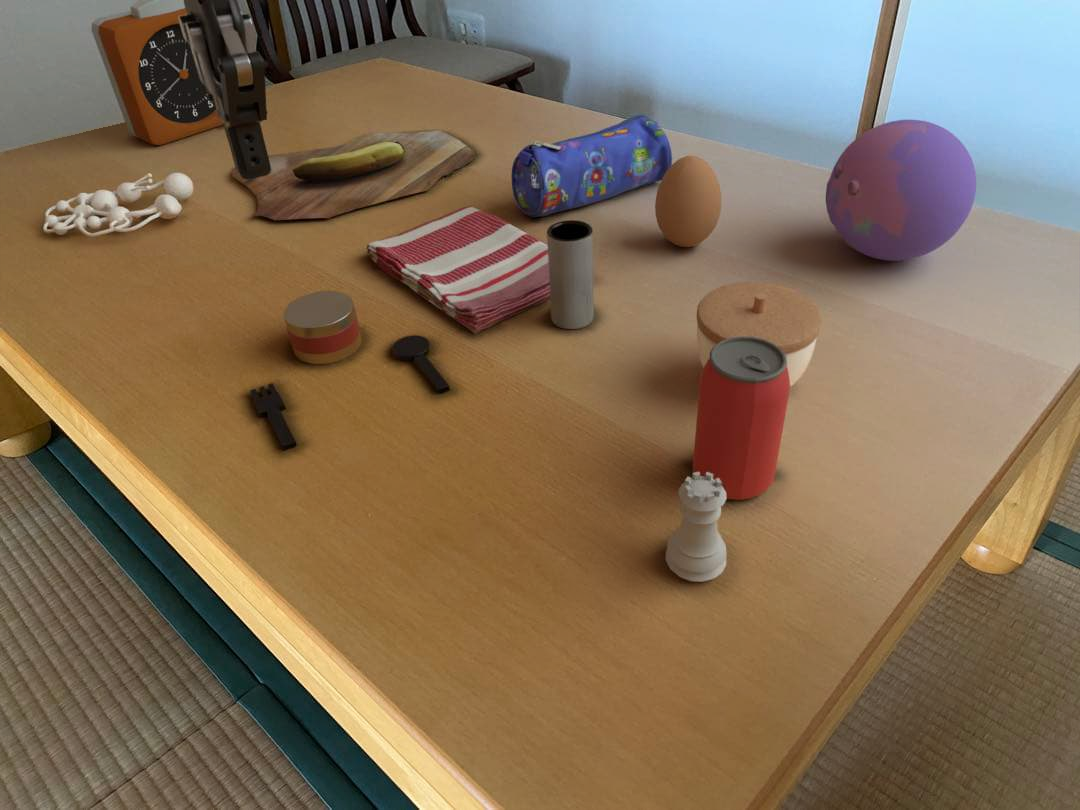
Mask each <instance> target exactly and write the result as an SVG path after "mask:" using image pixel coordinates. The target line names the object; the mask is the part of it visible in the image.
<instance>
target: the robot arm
mask: <svg viewBox="0 0 1080 810" xmlns="http://www.w3.org/2000/svg"><path fill="white" fill-rule="evenodd" d="M183 1H184V5H185V9H186V12H187V14H186V15H179V16H178V19H179V23H180V27H181V30H182V34H183V37H184V39H185V40H186V41H187V42H188V43H189V44H190V47H191V50H192V54H193V57H194V61H195V64H196V67H197V71H198V74H199V78H200V81H201V82H202V84H204V85H205V87H206V89H207V92H208V94H207V96H208V99H209V101H211V103H212V105H213V106H216V109H217V110H215V111H216V115H217V117H219V119H220V121H221V122H222V123H223V124H224V125H223V128H224V131H225V134H226V135H225V136H226V138H227V139H226V140H227V141H228V146H229V149H230V153H231V157H232V160H233V164H234V168H236V170H237V171H238V173H239V174H240V175H241V177H242V178H244V179H253V178H257V177H261V176H266V175H268V174H269V173H270V172H271V166H270V162H269V158H268V157H269V153H268V149H267V146H266V141H265V137H264V133H263V129H262V126H261V123H263V122H264V121H267V120H268V110H267V93H266V72H265V66H266V64H265V59H264V57H263V56H262V54H261V52H260V51H256V49H255V45H256V43H257V36H256V32H255V28H254V24H253V21H252V17H251V15H250V14H249V13H244V14H243V12H242V9H241V7H240V6H239V2H238V0H183Z"/></svg>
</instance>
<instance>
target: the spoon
mask: <svg viewBox="0 0 1080 810" xmlns="http://www.w3.org/2000/svg"><path fill="white" fill-rule="evenodd" d="M430 352H431V342H430V341H429V339H428V338H426V337H424V336H422V335H414V334H413V335H406V336H404V337H401V338H399V339H397V340H396V341H395V342H394V343H393V345H392V353H393V356H394V357H395V359H396V360H399V361H401V362H405V363H406V362H410V363H411V362H413V363H414V364H415V365H416V367H417V368H418V369H419V371H420V372H421V373H422V374H423V376H424V377H425V378H426V380H427V381H428V382H429V383H430V385H431V387H432V388H433V389H434V390H435V391H436V393H437V394H438V395H440V394H443V393H446V392H449V391H450V390H451V389H450V384H449V383H448V382H447V381H446V379H444V377H443V376H442V375H441V373H440V372H439V371H438V369H437V368H436V366H434V365H433V363H432V362H431V361H430V359H429V357H427V356H428V355H429V354H430Z"/></svg>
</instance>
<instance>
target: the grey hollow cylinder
mask: <svg viewBox="0 0 1080 810" xmlns="http://www.w3.org/2000/svg"><path fill="white" fill-rule="evenodd" d="M546 239H547V245H548V263H549V283H550V298H549V300H550V317H551V321H552V323H553V324H554V325H555V326H557V327H558V328H561V329H565V330H577V329H578V330H579V329H582V328H585V327H587V326H589V325H590V324H591V323H592V322H593V321H594V317H595V316H594V315H595V306H594V305H595V304H594V301H595V299H594V298H595V297H594V295H595V293H594V291H595V289H594V230H593V226H591V225H590V224H588V223H587V222H584V221H581V220H577V219H576V220H575V219H572V220H571V219H569V220H568V219H567V220H561V221H557V222H555V223H553V224H552V225H550V226H549V227H547V231H546Z"/></svg>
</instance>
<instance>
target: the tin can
mask: <svg viewBox="0 0 1080 810" xmlns="http://www.w3.org/2000/svg"><path fill="white" fill-rule="evenodd" d="M283 318H284V323H285V327H286V331H287V334H288V338H289V340H290V341H289V342H290V344H291V346H292V350H293V353H294V356H295V357H296V358H297V359H298V360H299V361H301V362H303V363H305V364H306V363H307V364H310V365H328V364H333V363H337V362H340V361H343V360H345V359H347V358H349V357H351V356H352V355H353V354H355V353H356V352H357V350H359V348H360V347H361V344H362V340H363V339H362V335H361V328H360V322H359V318H358V315H357V311H356V308H355V304H354V300H353V299H352V297H351V296H350V295H348V294H346V293H343V292H340V291H335V290H321V291H315V292H310V293H307V294H304V295H302V296H299V297H297V298H296V299H294V300H292V301H291V302H290V303H288V305H287V306H286V307H285V309H284V311H283Z"/></svg>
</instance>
